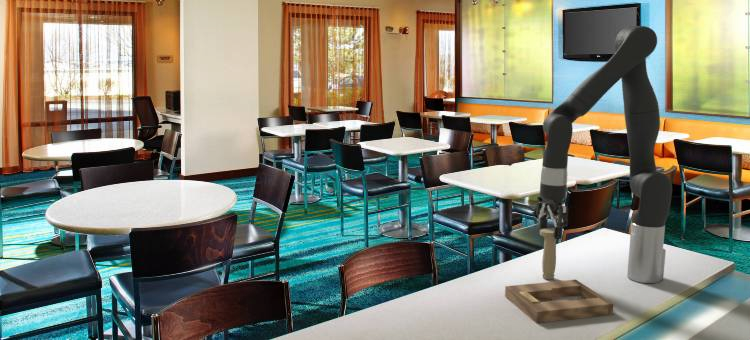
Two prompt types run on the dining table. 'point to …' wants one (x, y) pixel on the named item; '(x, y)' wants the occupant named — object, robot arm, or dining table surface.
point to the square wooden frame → (558, 301)
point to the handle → (548, 253)
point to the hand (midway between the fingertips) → (550, 234)
